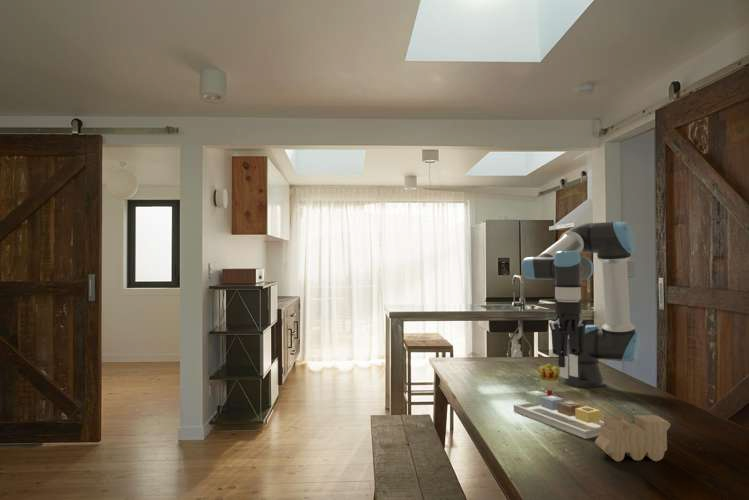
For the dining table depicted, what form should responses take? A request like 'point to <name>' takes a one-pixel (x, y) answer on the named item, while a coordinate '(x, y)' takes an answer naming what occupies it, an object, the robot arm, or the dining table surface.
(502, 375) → the dining table surface
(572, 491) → the dining table surface
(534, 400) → the key
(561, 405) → the key
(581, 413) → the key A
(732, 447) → the dining table surface
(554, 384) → the toy
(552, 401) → the blue square block
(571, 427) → the base
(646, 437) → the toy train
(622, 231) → the robot arm
